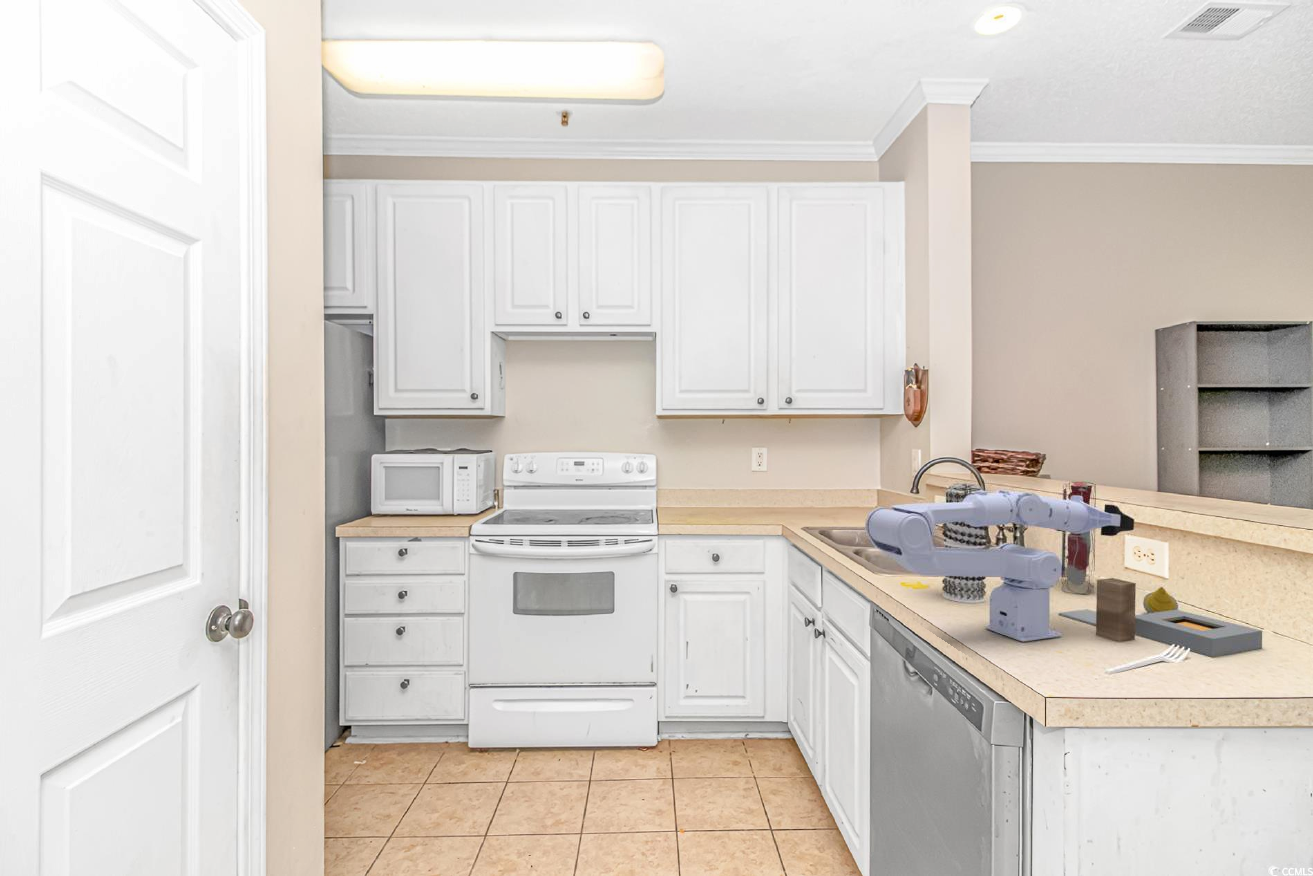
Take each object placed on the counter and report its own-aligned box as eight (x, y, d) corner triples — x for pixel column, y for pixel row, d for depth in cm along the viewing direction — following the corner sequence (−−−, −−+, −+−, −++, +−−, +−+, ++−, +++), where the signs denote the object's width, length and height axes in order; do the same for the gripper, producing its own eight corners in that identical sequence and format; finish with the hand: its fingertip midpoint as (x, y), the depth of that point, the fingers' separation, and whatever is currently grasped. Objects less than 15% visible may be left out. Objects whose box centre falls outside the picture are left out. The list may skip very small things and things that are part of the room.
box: (1093, 605, 131) (1095, 490, 130) (1059, 600, 134) (1060, 488, 134) (1094, 582, 151) (1096, 482, 151) (1064, 578, 154) (1065, 480, 154)
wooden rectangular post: (1118, 642, 108) (1119, 585, 108) (1096, 635, 112) (1096, 579, 112) (1134, 639, 109) (1135, 583, 109) (1111, 632, 113) (1112, 578, 113)
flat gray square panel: (1098, 627, 116) (1098, 624, 116) (1058, 614, 124) (1058, 612, 124) (1128, 622, 119) (1128, 620, 119) (1087, 611, 126) (1087, 609, 126)
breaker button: (1201, 639, 106) (1201, 634, 105) (1164, 629, 111) (1164, 625, 111) (1222, 636, 107) (1222, 631, 107) (1185, 626, 113) (1185, 622, 113)
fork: (1095, 672, 95) (1095, 660, 95) (1170, 654, 103) (1170, 643, 103) (1118, 680, 92) (1118, 668, 92) (1193, 660, 100) (1193, 649, 100)
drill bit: (1184, 619, 122) (1187, 593, 117) (1155, 629, 123) (1157, 603, 118) (1163, 598, 127) (1165, 571, 121) (1136, 607, 128) (1137, 581, 122)
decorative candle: (938, 590, 142) (939, 482, 142) (983, 594, 139) (985, 483, 139) (942, 601, 133) (943, 485, 133) (990, 605, 130) (992, 486, 130)
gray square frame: (1212, 657, 101) (1212, 638, 101) (1128, 632, 113) (1128, 616, 113) (1262, 648, 105) (1262, 630, 105) (1176, 625, 117) (1176, 609, 117)
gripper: (1094, 493, 108) (1152, 503, 111) (1024, 491, 122) (1077, 500, 125) (1091, 533, 107) (1150, 542, 110) (1021, 527, 121) (1075, 535, 124)
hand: (1111, 522), depth 118 cm, fingers open, 7 cm apart
